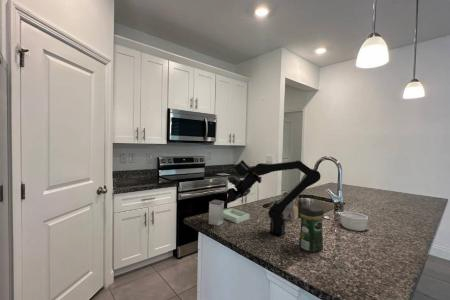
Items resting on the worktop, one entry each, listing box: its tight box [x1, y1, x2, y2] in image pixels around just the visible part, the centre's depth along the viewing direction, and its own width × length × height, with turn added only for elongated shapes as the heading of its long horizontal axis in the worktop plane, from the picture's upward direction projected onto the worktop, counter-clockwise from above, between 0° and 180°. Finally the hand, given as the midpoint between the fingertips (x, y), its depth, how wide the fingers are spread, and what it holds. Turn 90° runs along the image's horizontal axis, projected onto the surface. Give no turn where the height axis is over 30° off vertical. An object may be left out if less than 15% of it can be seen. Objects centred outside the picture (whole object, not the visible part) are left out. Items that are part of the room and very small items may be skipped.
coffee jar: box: [298, 204, 325, 253], centre depth 92 cm, size 10×8×19 cm
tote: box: [223, 207, 250, 224], centre depth 128 cm, size 15×11×3 cm
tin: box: [208, 199, 225, 226], centre depth 119 cm, size 6×6×12 cm
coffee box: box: [282, 190, 300, 222], centre depth 130 cm, size 9×6×16 cm
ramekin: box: [340, 211, 369, 232], centre depth 118 cm, size 13×13×7 cm
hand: (229, 201), depth 116 cm, fingers open, 9 cm apart
